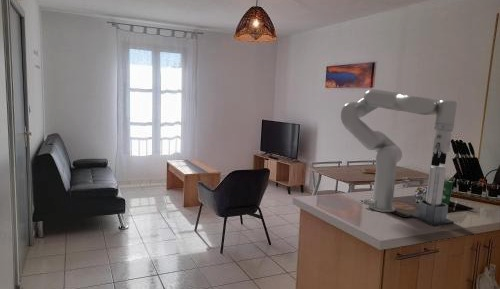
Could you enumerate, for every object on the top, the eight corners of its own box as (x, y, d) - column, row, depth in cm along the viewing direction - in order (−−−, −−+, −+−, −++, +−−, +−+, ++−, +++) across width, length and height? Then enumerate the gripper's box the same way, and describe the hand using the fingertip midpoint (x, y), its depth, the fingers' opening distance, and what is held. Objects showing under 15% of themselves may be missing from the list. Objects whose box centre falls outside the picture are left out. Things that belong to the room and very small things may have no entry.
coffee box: (449, 204, 198) (453, 181, 196) (449, 205, 195) (453, 181, 193) (433, 201, 202) (436, 178, 200) (433, 202, 199) (436, 179, 198)
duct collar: (433, 226, 160) (435, 208, 159) (410, 216, 172) (412, 200, 171) (453, 223, 165) (456, 206, 164) (429, 214, 177) (431, 198, 176)
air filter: (441, 218, 168) (449, 166, 164) (434, 221, 164) (441, 167, 161) (428, 214, 173) (435, 163, 170) (420, 216, 169) (427, 164, 166)
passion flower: (416, 211, 198) (408, 191, 203) (434, 208, 199) (426, 188, 204) (425, 206, 188) (417, 184, 193) (444, 202, 189) (436, 181, 194)
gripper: (447, 129, 154) (441, 168, 156) (457, 128, 167) (452, 164, 169) (429, 127, 159) (423, 165, 161) (440, 126, 172) (434, 161, 174)
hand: (438, 164), depth 165 cm, fingers open, 9 cm apart
